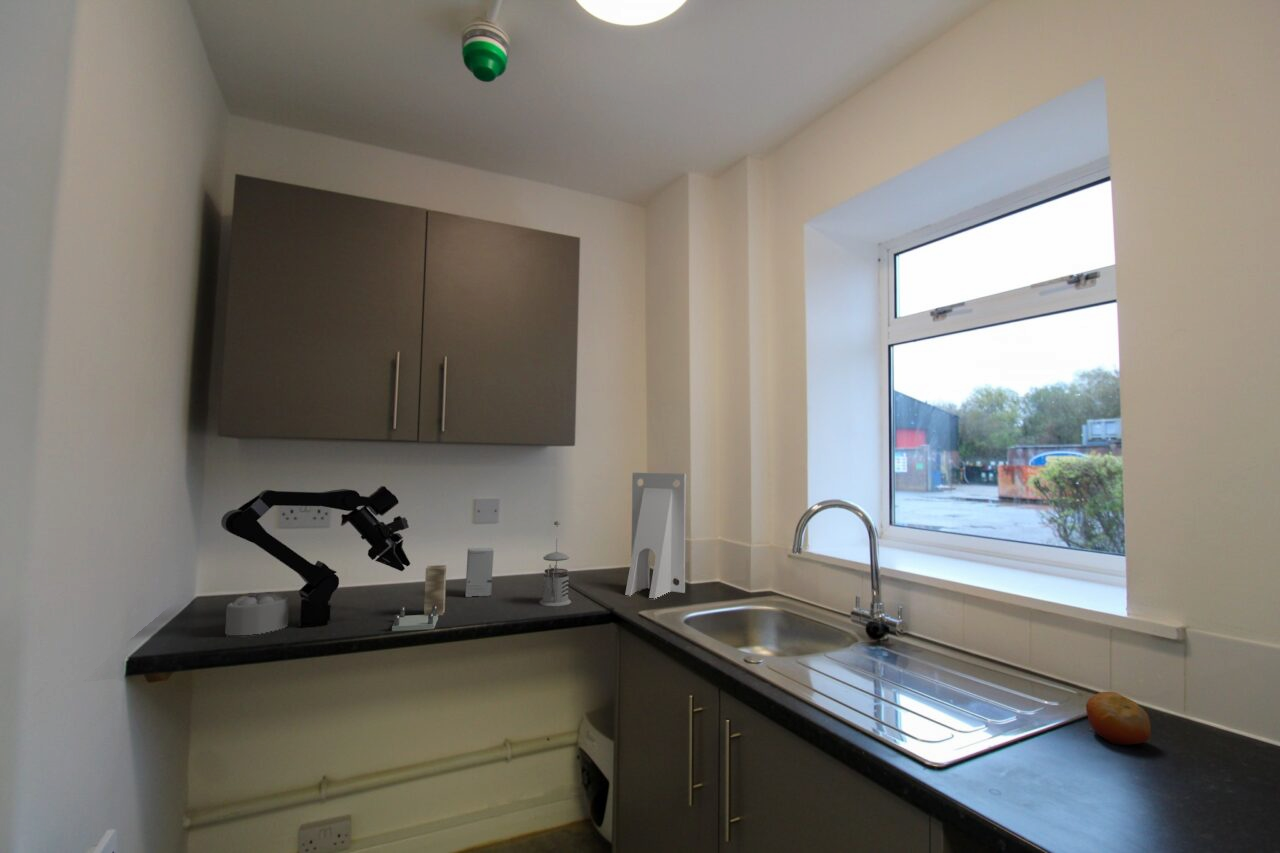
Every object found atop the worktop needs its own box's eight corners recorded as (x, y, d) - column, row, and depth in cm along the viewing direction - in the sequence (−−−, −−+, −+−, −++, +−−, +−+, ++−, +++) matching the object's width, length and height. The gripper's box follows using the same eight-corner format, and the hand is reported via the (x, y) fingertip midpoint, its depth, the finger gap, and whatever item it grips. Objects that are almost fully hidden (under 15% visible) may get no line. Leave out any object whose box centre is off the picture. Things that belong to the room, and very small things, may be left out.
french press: (574, 599, 183) (575, 519, 185) (566, 608, 172) (567, 523, 173) (544, 597, 184) (545, 519, 186) (533, 606, 173) (535, 522, 174)
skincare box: (465, 597, 183) (466, 550, 184) (465, 593, 189) (466, 547, 190) (492, 596, 186) (493, 549, 187) (491, 592, 191) (492, 546, 192)
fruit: (1110, 714, 99) (1130, 682, 95) (1147, 759, 92) (1170, 727, 88) (1064, 714, 99) (1082, 682, 95) (1098, 759, 92) (1119, 727, 88)
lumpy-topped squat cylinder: (292, 626, 149) (294, 592, 150) (238, 639, 138) (240, 602, 139) (270, 620, 154) (271, 588, 155) (215, 633, 143) (217, 597, 144)
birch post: (424, 616, 161) (425, 568, 162) (426, 611, 166) (428, 565, 167) (442, 615, 162) (444, 568, 163) (444, 610, 167) (446, 565, 168)
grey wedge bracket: (612, 594, 191) (614, 472, 194) (632, 586, 204) (633, 472, 206) (667, 601, 182) (669, 474, 185) (684, 592, 195) (685, 473, 198)
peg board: (392, 631, 146) (392, 616, 147) (399, 620, 156) (399, 606, 156) (433, 629, 149) (434, 614, 149) (438, 618, 158) (438, 605, 159)
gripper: (385, 508, 154) (425, 551, 156) (398, 505, 172) (433, 544, 174) (350, 537, 152) (390, 581, 153) (367, 531, 170) (403, 570, 171)
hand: (406, 567), depth 163 cm, fingers open, 9 cm apart
